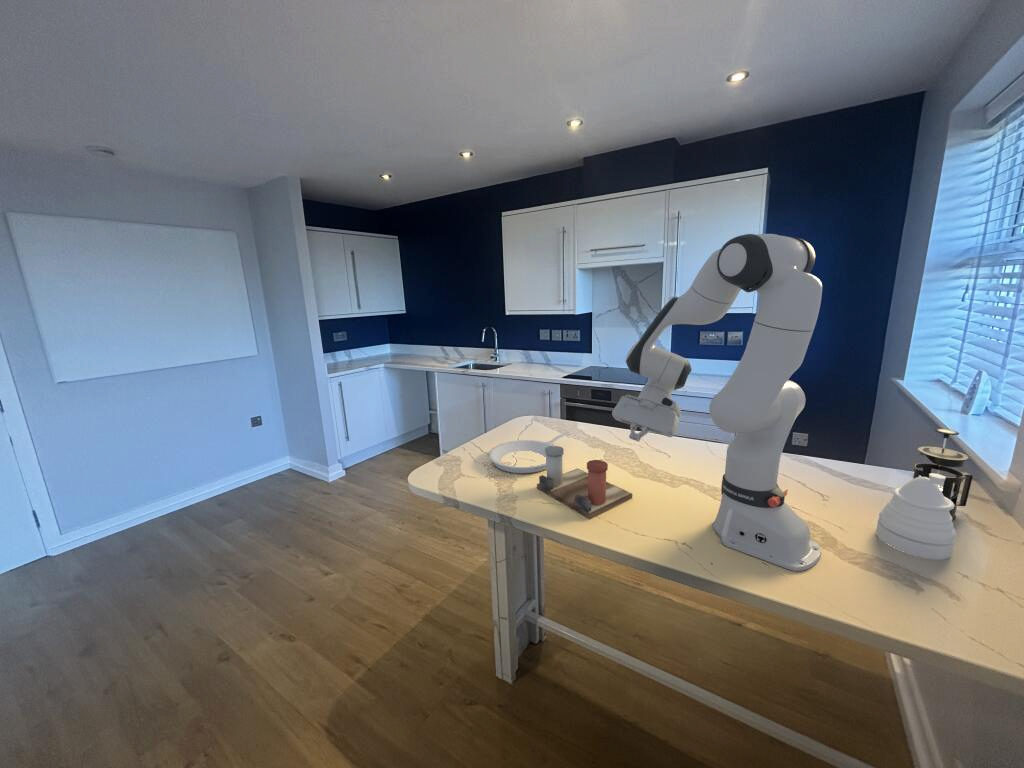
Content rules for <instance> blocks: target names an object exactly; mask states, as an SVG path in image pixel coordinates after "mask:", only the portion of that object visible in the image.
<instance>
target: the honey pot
mask: <svg viewBox="0 0 1024 768" xmlns="http://www.w3.org/2000/svg"><path fill="white" fill-rule="evenodd" d="M946 477H947V476H945V475H943V474H940V473H939V474H937V473H933V472H931V473H930V474H929V478H930V479H929V478H927V477H921V476H919V477H917V478H914V479H913V478H912V479H910V480H908V481H907V482H906V483H905V484H903V485H902V486H901V487H897V488H894V490H893V491H892V492H893V496H892V497H891V498H890V499H889V500H888V501H886V502H887V503H886V504H885V505H884V507H883V508H882V509H881V510H880V512H879V513H878V520H877V524H876V529H875V534H876V533H877V535H876V536H877V538H878V539H879V538H880V539H881V541H882V542H883V541H884V542H885V543H884V542H883V543H884V544H886V543H887V544H889V545H891V546H892V547H891V546H890V547H891V548H893V547H895V548H897V549H899V550H901V551H900V552H902V551H904V552H906V553H905V554H907V553H910V554H912V555H911V556H913V555H916V556H915V557H917V556H920V557H919V558H921V557H924V558H923V559H927V558H929V559H928V560H940V561H941V560H946V559H949V558H950V557H952V552H953V549H954V544H955V541H956V535H957V533H956V530H955V528H954V522H953V521H952V516H951V515H950V512H949V511H950V510H952V509H954V506H955V505H954V503H953V502H952V501H951V500H949V499H948V498H946V497H944V496H943V494H942V492H941V490H940V488H939V487H938V486H937V485H941V484H944V481H945V479H946ZM880 539H879V540H880ZM887 544H886V545H887ZM889 545H888V546H889ZM895 548H894V549H895ZM897 549H896V550H897ZM899 550H898V551H899ZM904 552H903V553H904ZM910 554H909V555H910Z"/></svg>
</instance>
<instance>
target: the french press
mask: <svg viewBox="0 0 1024 768" xmlns="http://www.w3.org/2000/svg"><path fill="white" fill-rule="evenodd" d="M935 432H937V433H940V434H942V435H943V436H942V437H943V438H944V440H943V444H942V447H938V446H919V447H917V451H918V452H919V455H920V456H925V457H927V459H928V460H929V461H931V462H932V463H927V462H922V463H921V462H920V463H916V464H914V469H913V476H912V477H913V478H912V479H914V478H917V477H927V478H929V474H930V473H932V470H937V472H936V474H940V471H943V472H946V473H949V474H952V475H955V477H947V476H945V477H946V479H945V481H944V482H943V486H942V485H940V484H937V486H938V487H939V488H940V490H941V492H942V494H943V496H944V497H946V498H948V499H949V500H951V501H952V502H953V503H954V505H955V506H954V509H952V510H950V511H949V512H950V515H951V516H952V522H953V521H955V520H956V517H957V516H956V513H957V508H958V507H966V506H967V501H968V498H969V494H970V490H971V486H972V481H973V475H972V474H971V473H969V472H964V471H960V470H958V469H956V468H962V467H964V466H965V462H966V461H968V460H969V456H968V455H967V454H965V453H963V452H960V451H957V450H952V449H950V448H945V447H946V443H947V439H949V438H950V436H958V435H960V433H959V432H958V431H956V430H952V429H947V428H936V429H935ZM921 469H922V470H921ZM929 479H930V478H929ZM963 482H964V483H963ZM962 483H963V488H962V491H961V494H960V488H961V484H962ZM959 494H960V495H961V496H960V499H959V501H958V497H959Z"/></svg>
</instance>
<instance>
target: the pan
mask: <svg viewBox="0 0 1024 768" xmlns="http://www.w3.org/2000/svg"><path fill="white" fill-rule="evenodd" d="M570 434H571V433H570V432H569V431H565V432H563V433H560V434H558V435H557V436H555V437H554V438H552V439H551V440H549V441H540V440H534V439H533V440H532V439H531V440H530V439H524V440H523V439H522V440H521V439H520V440H519V439H518V440H511V441H506V442H503V443H500V444H498V445H496V446H494V447H493V448H492V449H490V451H489V453H488V458H489V459H490V461H491V462H493V465H494V466H495V467H496V468H497V469H499V470H500V471H503V472H505V471H507V472H506V473H509V472H511V473H510V474H516V473H517V474H518V475H519V474H520V475H526V474H527V475H528V474H530V475H531V474H536V473H537V474H538V473H540V472H543V471H547V464H546V463H545V464H541V465H537V466H530V467H515V466H508V465H504V464H501V462H500V461H501V458H502V457H503V456H504V455H506V454H508V453H511V452H515V451H517V452H518V451H532V452H535V453H539V454H541V455H543V456H544V457H546V454H545V448H547V447H549V446H554V443H555V442H556V441H557V440H559V439H560V438H562V437H566V436H568V435H570Z"/></svg>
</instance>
